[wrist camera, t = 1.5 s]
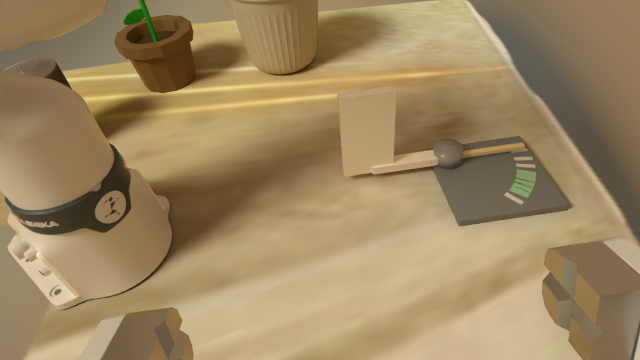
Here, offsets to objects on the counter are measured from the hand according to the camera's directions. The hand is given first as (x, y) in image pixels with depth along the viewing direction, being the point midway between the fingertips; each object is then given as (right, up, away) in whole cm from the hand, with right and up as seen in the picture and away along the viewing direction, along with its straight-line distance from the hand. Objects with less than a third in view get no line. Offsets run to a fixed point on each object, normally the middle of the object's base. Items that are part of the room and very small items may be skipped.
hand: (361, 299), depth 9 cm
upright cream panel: (+15, +5, +51) cm, 53 cm away
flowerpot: (-31, +23, +77) cm, 87 cm away
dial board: (+23, +3, +49) cm, 54 cm away
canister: (-8, +27, +78) cm, 83 cm away
